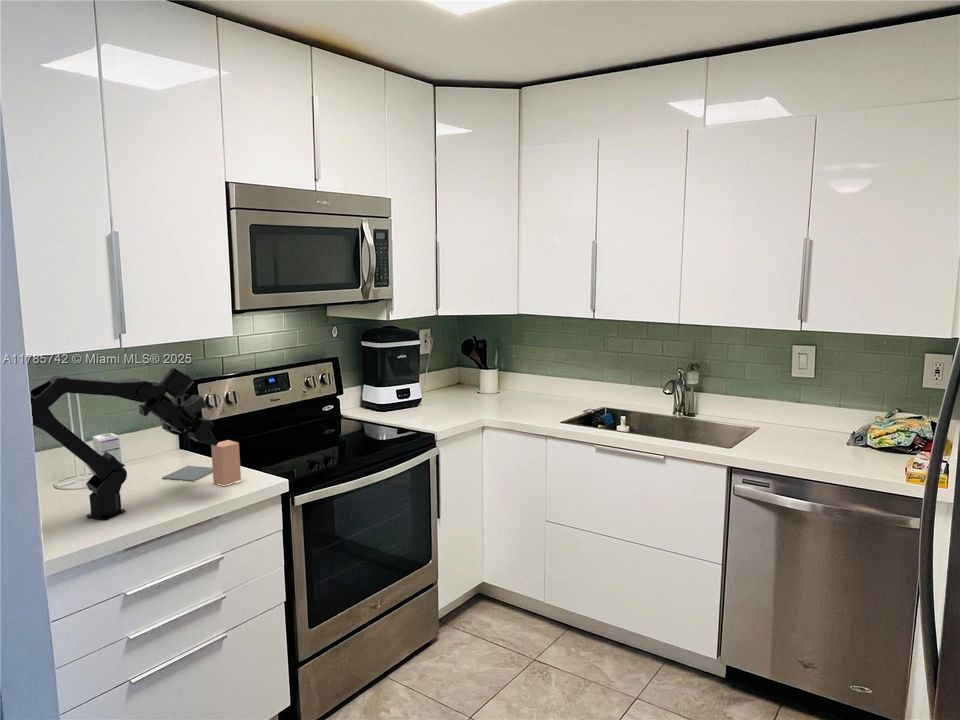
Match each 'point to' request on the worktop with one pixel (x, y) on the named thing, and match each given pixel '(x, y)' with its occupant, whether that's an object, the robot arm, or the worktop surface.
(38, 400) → the robot arm
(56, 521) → the worktop surface
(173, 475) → the rubber mat
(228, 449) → the salmon pink pillar
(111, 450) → the syrup box
